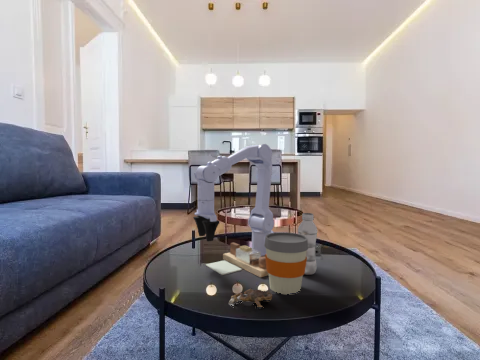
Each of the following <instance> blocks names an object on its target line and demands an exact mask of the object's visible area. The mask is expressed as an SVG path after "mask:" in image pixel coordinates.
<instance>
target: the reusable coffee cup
mask: <svg viewBox="0 0 480 360" xmlns="http://www.w3.org/2000/svg"><path fill="white" fill-rule="evenodd" d="M265 248H266V255H264V257H265V258H266V268H267V272H268V273H269V275H268V282H269V289H270V290H271V291H272V292H274V293H276V292H277V294H279V293H281V295H287V294H289V295H291V294H290V293H296V292H298V291H300V292H301V290H302V284H303V276H304V275H305V268H306V261H307V257H306V252H307V250H308V240H307V237H305V236H303V235H300V234H298V233H294V232H283V231H282V232H274V233H271V234H268V235H266V237H265ZM300 289H301V290H300ZM298 293H299V292H298ZM296 294H297V293H296Z"/></svg>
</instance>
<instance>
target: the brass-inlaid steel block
mask: <svg viewBox="0 0 480 360" xmlns="http://www.w3.org/2000/svg"><path fill="white" fill-rule="evenodd" d="M259 257H262V256H261V252H260V251H257V250H254V249H252V246H248V245H240V248H237V249H236V259H239V260H241V261H243V262H245V263H247V264H249V265H250V264H251V262H252V261H256V260H259Z"/></svg>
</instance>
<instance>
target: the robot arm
mask: <svg viewBox="0 0 480 360" xmlns="http://www.w3.org/2000/svg"><path fill="white" fill-rule="evenodd" d="M272 157H273V150H272V149H271V147H270V146H269V145H268V144H267V143H262V144H253V145H252V144H249V145H248V144H247V146H243V147H242V148H241V149H239V150H237V151H236V152H234V153H232V154H231V155H229V156H225V155H223V156H222V155H218V156H217V157H216V159H214V160H213V161H208V162H206V165H199V166H198V167H197V168H196V170H195V173H194V175H193V176H194V178H195V179H196V181H197V182H196V183H197V209H196V212H194V216H193V220H194V222H195V224H196V229H197V233H198V236H199V237H205V239H206V242H213V241H214V239H215V236H216V235H215V234H216V230H217V228H218V226H219V225H220V220H218V217H217V215H216V213H215V182H216V181H217V179H218V177H220V176H221V175H223V174H225V173H228V172H229V171H231V170H232V166H233V165H235V164H237V163H239V162H242V161H244V160H245V159H246V160H248V161H249V162H250V163H252V164H253V165H255V167H256V168H257V169H258V171H257V180H256V181H257V183H256V192H255V193H256V194H255V206H254V208H252V209H251V211H250V215H249V217H248V226H249V227H250V230H251V248H252V249H254V250H257V251H260V252H261V257H265V255H266V248H265V237H266V235H268V234H271V233H275V232H274V230H273V229H274V226H275V220H274V213H273V212H272V210H271V209H270V207H269V206H270V197H271V187H272V185H271V184H272V175H273V160H272V159H273V158H272Z"/></svg>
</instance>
